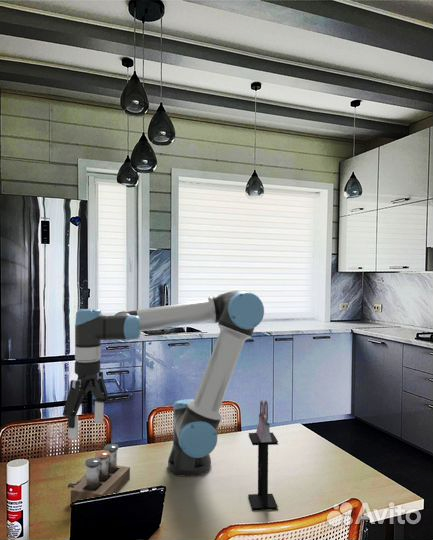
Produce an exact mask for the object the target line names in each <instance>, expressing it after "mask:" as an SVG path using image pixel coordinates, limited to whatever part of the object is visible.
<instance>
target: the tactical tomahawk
mask: <svg viewBox="0 0 433 540" xmlns="http://www.w3.org/2000/svg"><path fill="white" fill-rule="evenodd" d="M86 475H87V472H86V473H85V474H84V475H83V476H82V477H81V478H80V479H78V480H77V481H76V482H75V483H71V482H70V483H68V484H67V487H68V488H72V489H73V488H74V487H75V486H76V485H77V484H79V483H80V482H81V481H82V480H83V479H85V478H86Z"/></svg>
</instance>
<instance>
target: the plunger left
mask: <svg viewBox="0 0 433 540" xmlns="http://www.w3.org/2000/svg"><path fill="white" fill-rule="evenodd" d="M84 464H85V466H86V473H87V475H86V489H87V490H91V491H93V490H96V489H98V488H99V465H100V464H101V459H99V458H95V457H90V458H87V459H86V460H85V462H84Z"/></svg>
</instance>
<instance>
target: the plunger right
mask: <svg viewBox="0 0 433 540" xmlns="http://www.w3.org/2000/svg"><path fill="white" fill-rule="evenodd" d="M118 450H119V445H118V444H116V443H108V444H105V445H104V446H103V451H109V452H110V456H109V457H108V473H110V474H111V473H115V472H116V471H117V466H118V465H117V464H118V462H117V461H118Z"/></svg>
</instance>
